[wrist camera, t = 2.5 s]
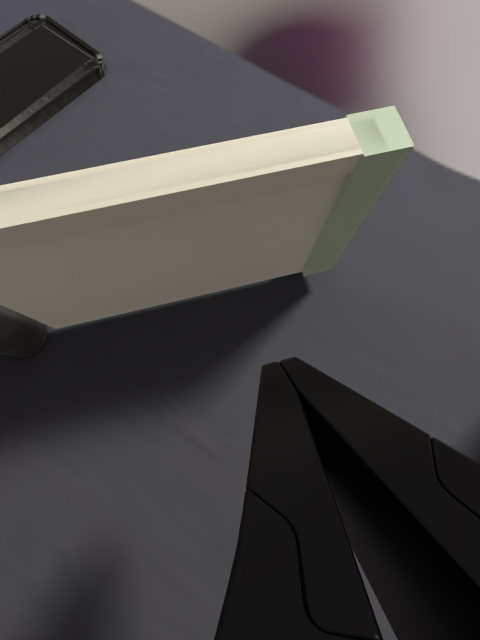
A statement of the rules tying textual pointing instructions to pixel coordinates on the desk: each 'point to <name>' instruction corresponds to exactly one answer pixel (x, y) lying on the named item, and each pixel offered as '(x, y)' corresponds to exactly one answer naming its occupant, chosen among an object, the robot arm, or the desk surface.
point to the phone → (41, 75)
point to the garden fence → (20, 334)
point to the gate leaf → (193, 218)
